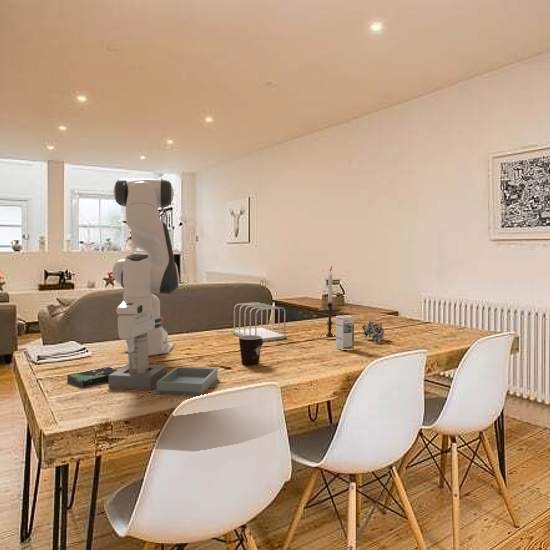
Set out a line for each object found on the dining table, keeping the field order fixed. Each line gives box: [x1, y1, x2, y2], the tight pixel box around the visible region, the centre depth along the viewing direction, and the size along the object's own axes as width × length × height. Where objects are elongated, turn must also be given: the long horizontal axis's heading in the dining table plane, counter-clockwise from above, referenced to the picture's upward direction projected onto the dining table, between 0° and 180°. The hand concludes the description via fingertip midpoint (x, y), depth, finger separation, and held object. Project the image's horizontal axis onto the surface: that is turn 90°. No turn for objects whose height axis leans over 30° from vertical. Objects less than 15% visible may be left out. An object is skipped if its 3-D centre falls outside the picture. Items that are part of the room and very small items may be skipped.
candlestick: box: [318, 265, 342, 338], centre depth 230 cm, size 11×11×35 cm
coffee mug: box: [238, 335, 264, 367], centre depth 181 cm, size 12×9×10 cm
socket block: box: [108, 363, 168, 390], centre depth 155 cm, size 14×14×4 cm
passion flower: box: [361, 319, 386, 343], centre depth 225 cm, size 11×11×12 cm
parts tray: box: [155, 366, 219, 396], centre depth 152 cm, size 18×14×4 cm
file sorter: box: [231, 301, 288, 342], centre depth 234 cm, size 25×17×16 cm
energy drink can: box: [128, 335, 149, 374], centre depth 155 cm, size 6×6×15 cm
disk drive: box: [66, 366, 118, 388], centre depth 158 cm, size 10×3×15 cm
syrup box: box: [335, 314, 355, 349], centre depth 206 cm, size 6×6×14 cm
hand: (138, 348), depth 154 cm, fingers open, 8 cm apart
